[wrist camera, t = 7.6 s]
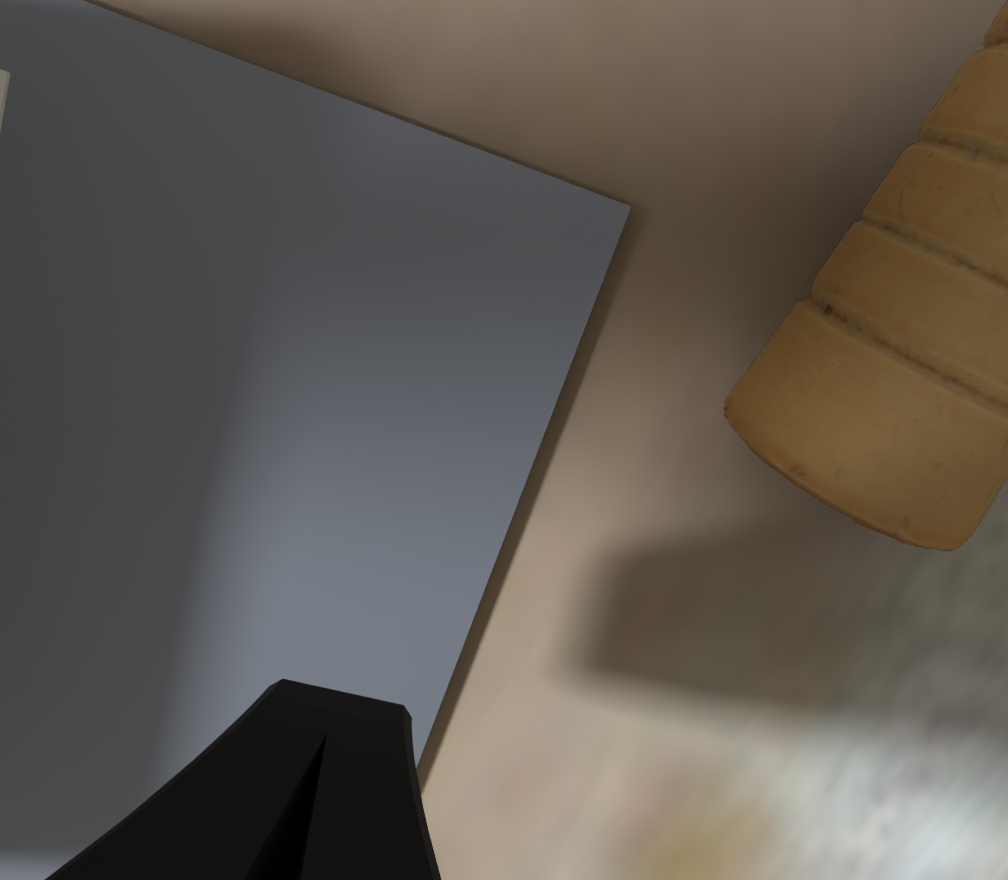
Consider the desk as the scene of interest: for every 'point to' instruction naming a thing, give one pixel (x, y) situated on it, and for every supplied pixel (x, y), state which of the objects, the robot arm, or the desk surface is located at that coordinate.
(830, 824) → the desk surface
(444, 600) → the card
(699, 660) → the desk surface
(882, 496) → the kendama
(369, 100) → the desk surface
